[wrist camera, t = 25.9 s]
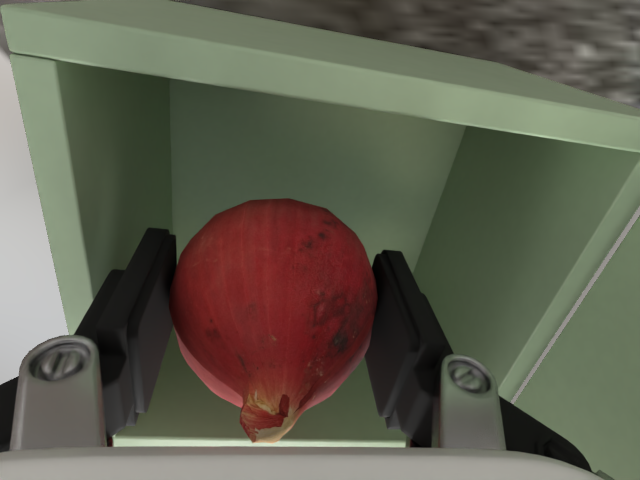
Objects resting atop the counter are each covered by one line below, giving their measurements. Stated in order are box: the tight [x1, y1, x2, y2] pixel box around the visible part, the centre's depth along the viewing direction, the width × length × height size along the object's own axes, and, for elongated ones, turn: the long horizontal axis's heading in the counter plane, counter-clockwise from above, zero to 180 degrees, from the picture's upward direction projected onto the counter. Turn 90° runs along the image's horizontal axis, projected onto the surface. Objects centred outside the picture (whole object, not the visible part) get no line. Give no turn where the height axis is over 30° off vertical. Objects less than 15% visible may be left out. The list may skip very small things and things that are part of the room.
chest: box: [0, 0, 640, 447], centre depth 16 cm, size 15×14×10 cm
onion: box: [169, 198, 378, 444], centre depth 11 cm, size 6×6×8 cm
